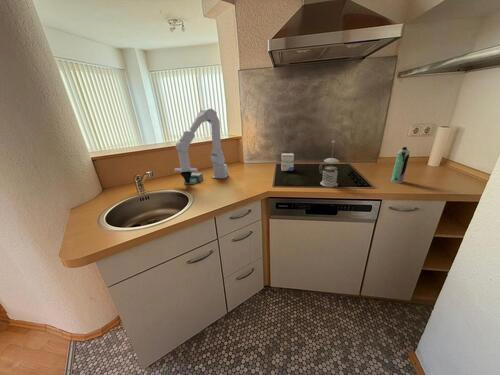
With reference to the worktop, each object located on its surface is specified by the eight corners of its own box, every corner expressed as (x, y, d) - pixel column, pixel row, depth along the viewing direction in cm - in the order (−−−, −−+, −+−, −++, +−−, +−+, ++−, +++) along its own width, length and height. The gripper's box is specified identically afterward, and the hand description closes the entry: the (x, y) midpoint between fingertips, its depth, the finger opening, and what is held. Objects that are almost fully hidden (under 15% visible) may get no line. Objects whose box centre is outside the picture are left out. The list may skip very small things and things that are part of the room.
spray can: (404, 183, 115) (413, 147, 107) (393, 182, 116) (401, 147, 109) (399, 179, 120) (408, 146, 112) (389, 179, 121) (397, 146, 113)
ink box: (292, 168, 149) (293, 153, 145) (293, 170, 145) (294, 154, 140) (281, 168, 150) (281, 153, 146) (281, 170, 146) (281, 154, 141)
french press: (331, 188, 112) (336, 142, 103) (314, 182, 121) (317, 140, 112) (341, 183, 118) (347, 140, 108) (324, 179, 126) (328, 138, 117)
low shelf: (203, 179, 135) (202, 173, 134) (199, 182, 131) (198, 175, 129) (189, 178, 137) (188, 172, 136) (185, 181, 133) (184, 175, 131)
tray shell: (198, 180, 133) (198, 177, 132) (194, 184, 127) (193, 180, 126) (188, 180, 134) (188, 177, 133) (184, 183, 129) (183, 180, 128)
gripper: (169, 163, 119) (174, 184, 124) (192, 163, 116) (195, 185, 121) (176, 160, 126) (180, 180, 131) (197, 160, 122) (200, 181, 127)
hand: (188, 182), depth 126 cm, fingers closed, pressing on tray shell
